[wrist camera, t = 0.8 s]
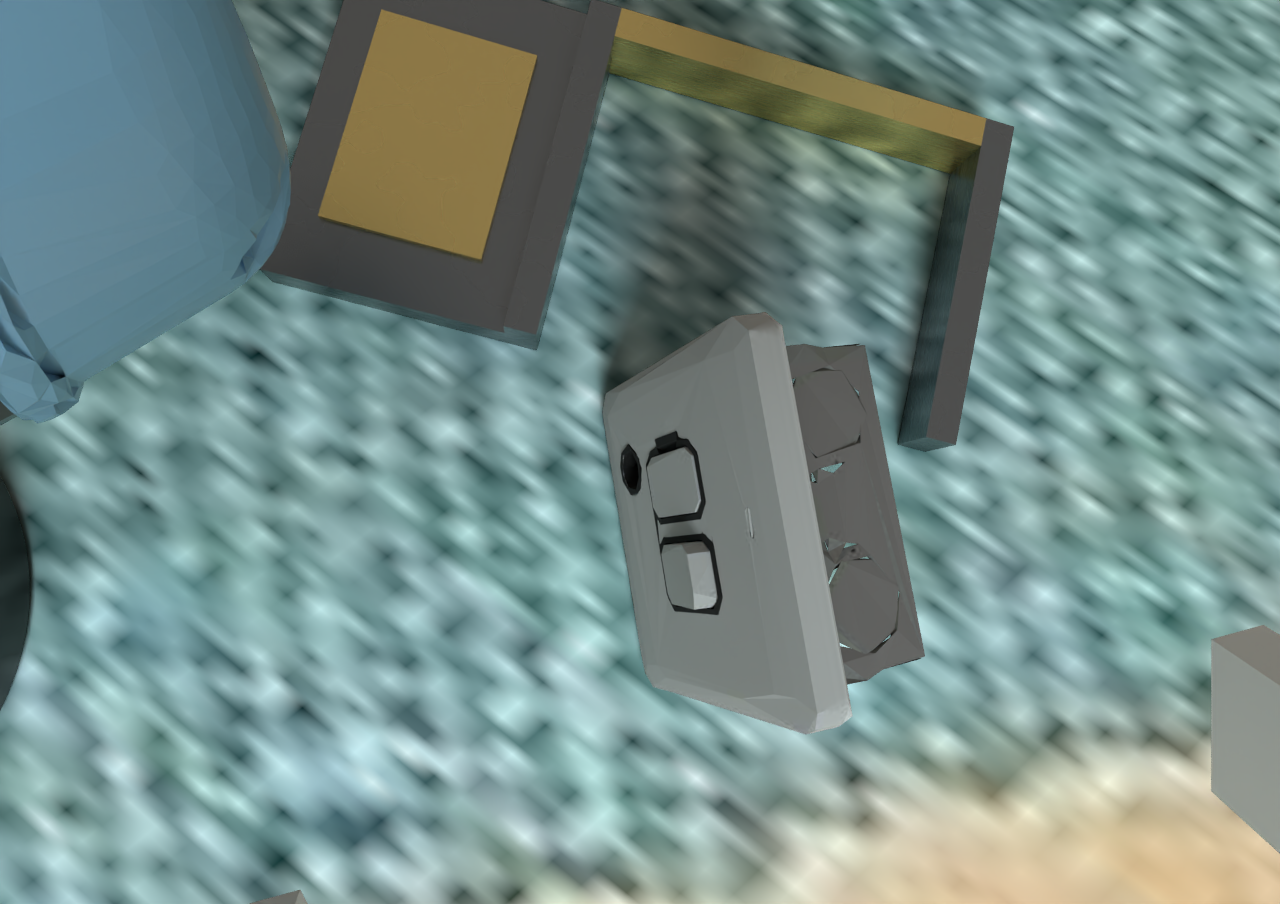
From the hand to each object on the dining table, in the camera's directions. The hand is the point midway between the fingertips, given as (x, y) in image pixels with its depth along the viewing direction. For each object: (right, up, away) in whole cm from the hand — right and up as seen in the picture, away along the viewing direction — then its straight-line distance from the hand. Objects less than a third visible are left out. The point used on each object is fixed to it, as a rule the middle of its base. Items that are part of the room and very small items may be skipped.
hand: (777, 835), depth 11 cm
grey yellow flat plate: (-2, +13, +15) cm, 20 cm away
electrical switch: (0, +3, +15) cm, 15 cm away
